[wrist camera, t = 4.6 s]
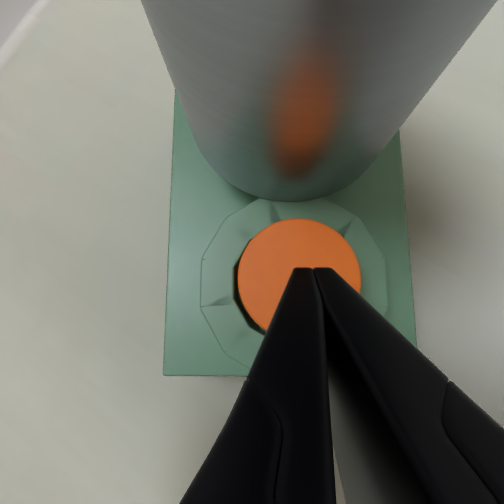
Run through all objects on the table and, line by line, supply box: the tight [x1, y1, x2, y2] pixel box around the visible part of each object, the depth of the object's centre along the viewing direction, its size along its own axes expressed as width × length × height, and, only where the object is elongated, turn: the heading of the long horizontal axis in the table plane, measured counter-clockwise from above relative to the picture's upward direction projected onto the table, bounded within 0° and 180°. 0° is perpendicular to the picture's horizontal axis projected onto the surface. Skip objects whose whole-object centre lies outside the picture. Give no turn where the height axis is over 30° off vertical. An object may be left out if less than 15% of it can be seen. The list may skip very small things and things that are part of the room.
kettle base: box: [163, 90, 417, 376], centre depth 15 cm, size 14×10×6 cm
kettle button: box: [238, 218, 361, 331], centre depth 11 cm, size 4×4×2 cm
